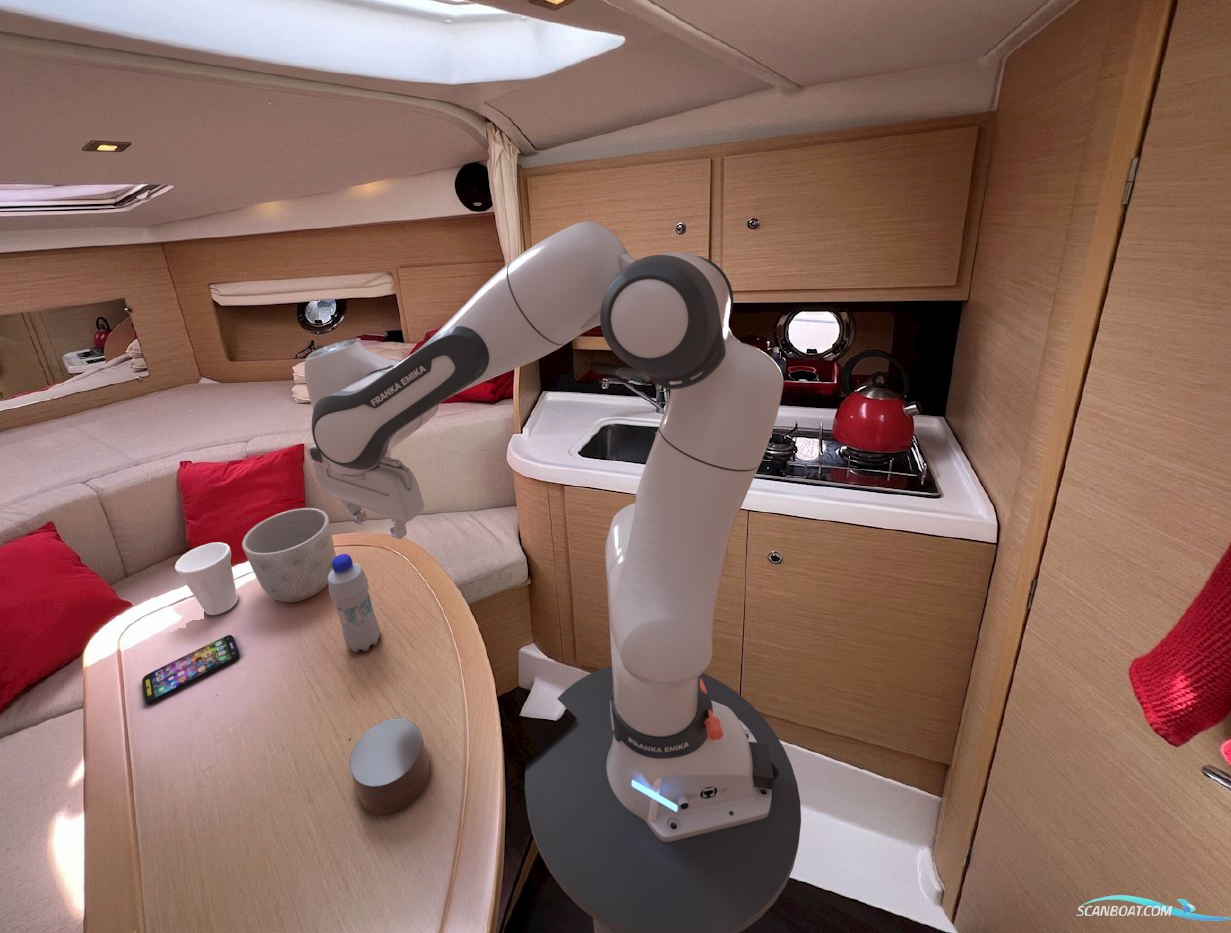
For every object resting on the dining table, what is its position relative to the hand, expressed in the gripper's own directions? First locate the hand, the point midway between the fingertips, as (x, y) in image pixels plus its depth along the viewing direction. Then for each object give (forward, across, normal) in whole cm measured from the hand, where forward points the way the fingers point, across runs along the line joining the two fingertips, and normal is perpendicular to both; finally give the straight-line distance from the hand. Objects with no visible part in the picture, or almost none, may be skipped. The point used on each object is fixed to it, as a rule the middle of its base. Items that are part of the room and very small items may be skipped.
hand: (379, 528), depth 85 cm
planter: (+30, +40, -4) cm, 50 cm away
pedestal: (+30, -11, +15) cm, 36 cm away
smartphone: (+30, +38, +21) cm, 52 cm away
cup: (+30, +51, +9) cm, 60 cm away
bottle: (+30, +14, 0) cm, 33 cm away
